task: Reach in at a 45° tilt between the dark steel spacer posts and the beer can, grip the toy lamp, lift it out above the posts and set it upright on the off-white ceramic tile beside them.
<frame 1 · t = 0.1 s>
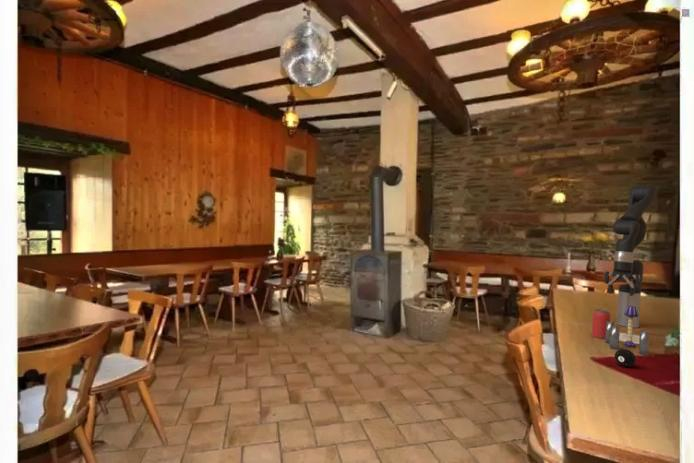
hand: (620, 294, 190), 17 cm above the table, tool pointing down, fingers open, 8 cm apart
beer can: (600, 337, 175), on the table
toy lamp: (629, 346, 164), on the table
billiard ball: (624, 366, 139), on the table
ceramic tile: (629, 339, 173), on the table
spacer posts: (629, 345, 164), on the table
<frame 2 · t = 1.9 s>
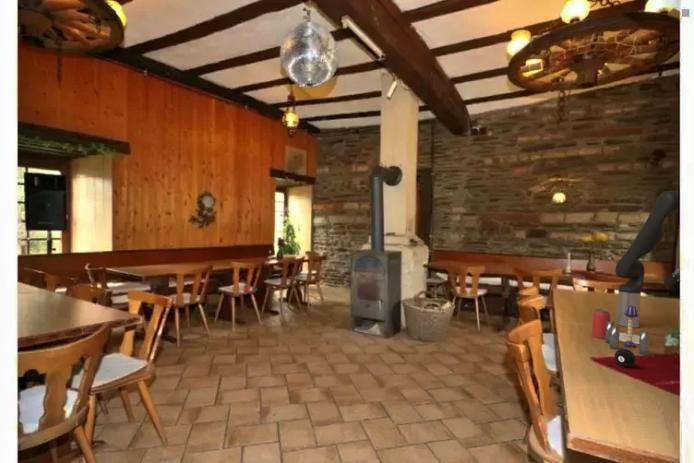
hand: (665, 283, 157), 27 cm above the table, tool tilted 45°, fingers open, 8 cm apart
nothing on the table moved.
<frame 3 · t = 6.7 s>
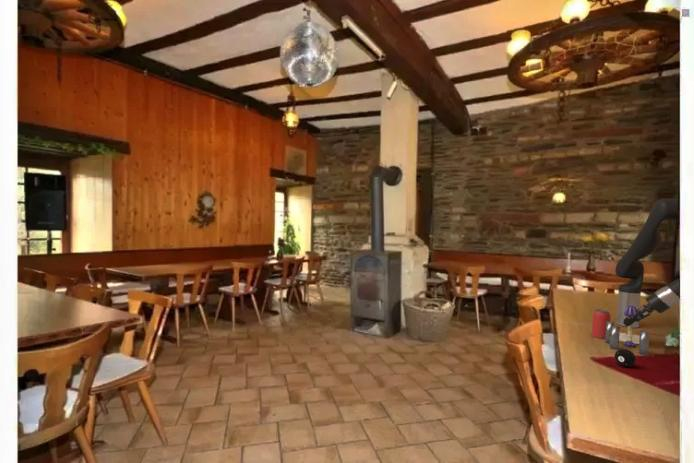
hand: (625, 323, 165), 9 cm above the table, tool tilted 45°, fingers closed on toy lamp, 4 cm apart
toy lamp: (629, 346, 164), on the table, touching gripper
everything else where it was.
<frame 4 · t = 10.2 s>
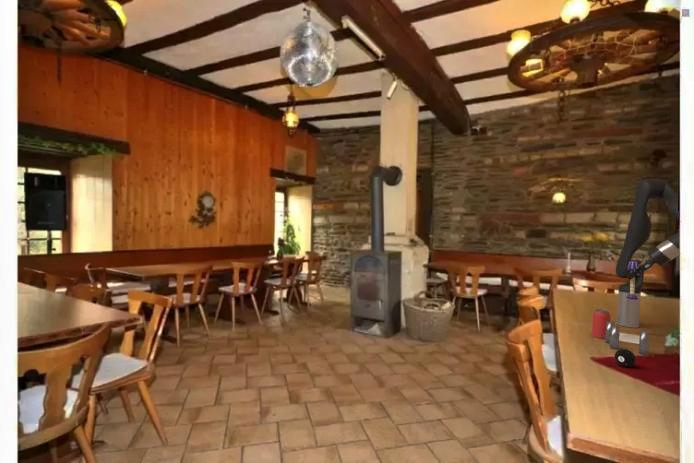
hand: (627, 277, 173), 28 cm above the table, tool tilted 45°, fingers closed on toy lamp, 4 cm apart
toy lamp: (631, 299, 172), point 18 cm above the table, touching gripper
everything else where it was.
when the fingers open (12 cm above the table, at t = 13.9 s): toy lamp drops 2 cm, resting on ceramic tile.
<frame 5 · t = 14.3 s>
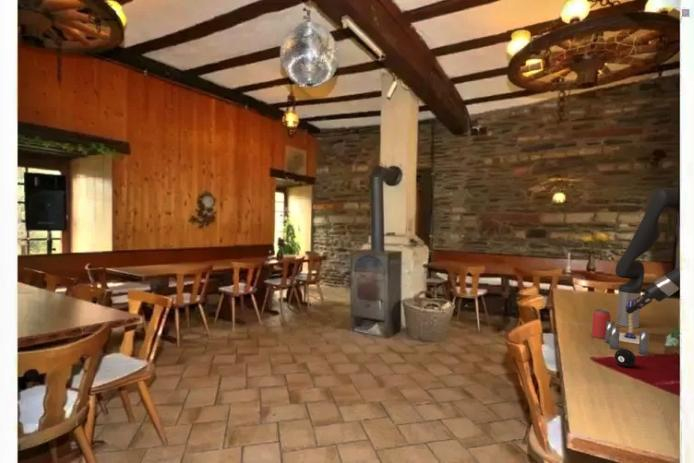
hand: (627, 310, 174), 13 cm above the table, tool tilted 45°, fingers open, 8 cm apart
toy lamp: (630, 337, 173), point 1 cm above the table, touching ceramic tile
everything else where it was.
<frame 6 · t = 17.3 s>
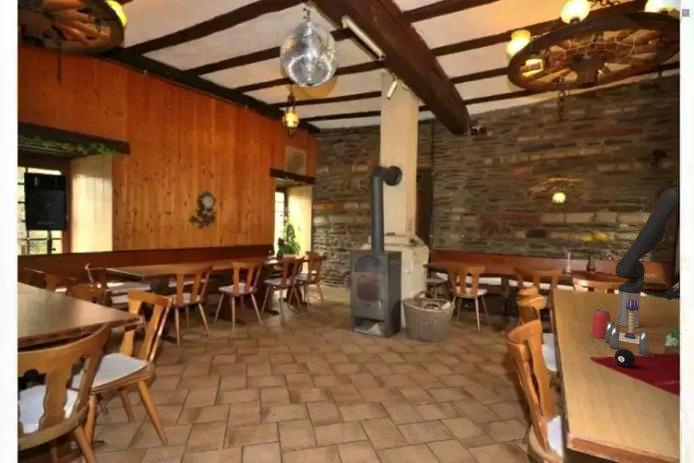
hand: (666, 296, 166), 21 cm above the table, tool tilted 45°, fingers open, 8 cm apart
nothing on the table moved.
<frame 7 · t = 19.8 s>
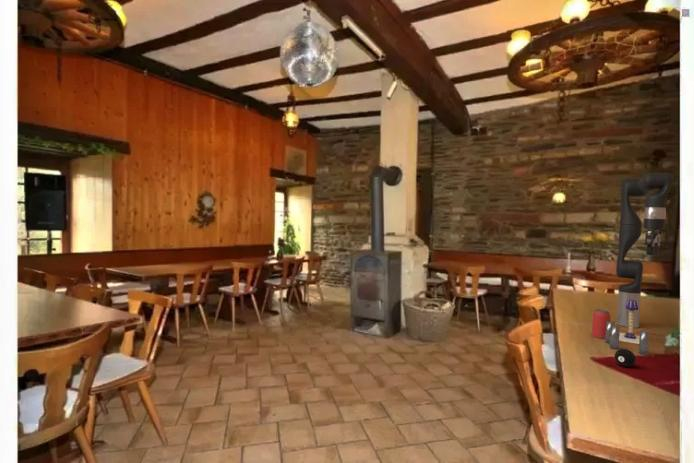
hand: (652, 254, 172), 38 cm above the table, tool pointing down, fingers open, 8 cm apart
nothing on the table moved.
at the end: toy lamp inside the target area on the ceramic tile (0.3 cm from its centre), point 0.8 cm above the ceramic tile's base; toy lamp tilted 0°; the gripper is holding nothing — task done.
